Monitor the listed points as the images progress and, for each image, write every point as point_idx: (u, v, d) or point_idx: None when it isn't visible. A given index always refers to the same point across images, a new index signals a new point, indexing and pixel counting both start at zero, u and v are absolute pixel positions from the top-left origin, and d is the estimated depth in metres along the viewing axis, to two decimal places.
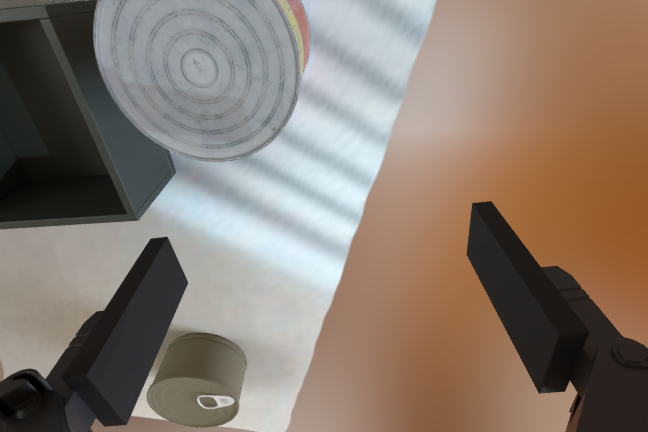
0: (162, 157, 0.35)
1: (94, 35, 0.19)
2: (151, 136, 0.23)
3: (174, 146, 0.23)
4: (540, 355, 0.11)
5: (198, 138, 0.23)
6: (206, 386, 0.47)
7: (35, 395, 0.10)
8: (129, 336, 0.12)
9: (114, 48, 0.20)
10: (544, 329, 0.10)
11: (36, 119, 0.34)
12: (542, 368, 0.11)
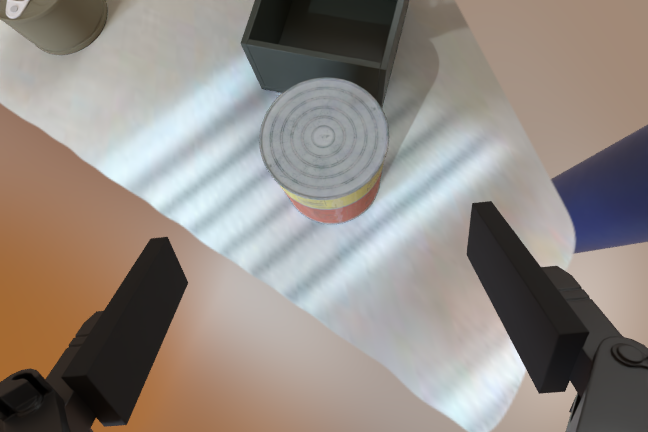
0: (277, 85, 0.45)
1: (361, 88, 0.32)
2: (295, 87, 0.33)
3: (284, 97, 0.33)
4: (540, 355, 0.11)
5: (283, 115, 0.32)
6: (43, 2, 0.44)
7: (35, 395, 0.10)
8: (129, 336, 0.12)
9: (351, 94, 0.32)
10: (544, 329, 0.10)
11: (333, 19, 0.47)
12: (542, 368, 0.11)
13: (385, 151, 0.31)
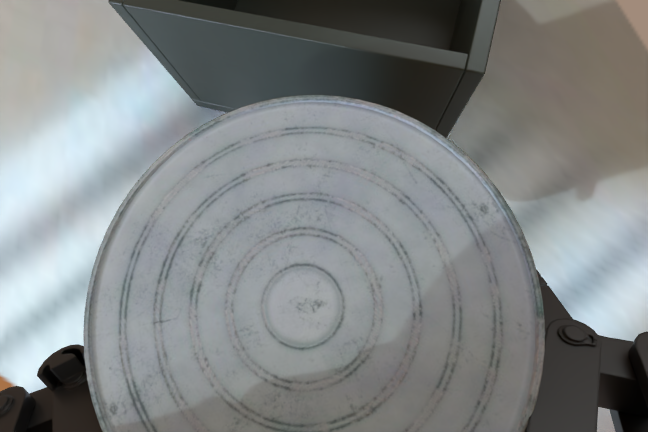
0: (222, 100, 0.22)
1: (434, 133, 0.09)
2: (217, 124, 0.10)
3: (177, 159, 0.10)
4: None
5: (171, 220, 0.10)
6: None
7: (81, 370, 0.10)
8: None
9: (399, 155, 0.10)
10: None
11: None
12: None
13: (534, 380, 0.08)
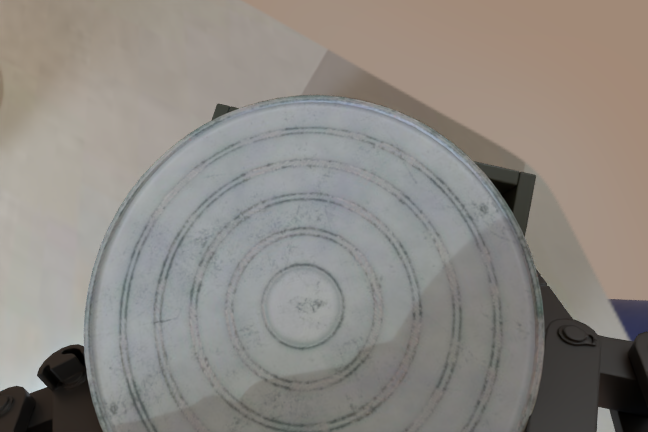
0: None
1: (434, 133, 0.09)
2: (217, 124, 0.10)
3: (178, 160, 0.10)
4: None
5: (171, 220, 0.10)
6: None
7: (81, 370, 0.10)
8: None
9: (399, 155, 0.10)
10: None
11: None
12: None
13: (534, 380, 0.08)
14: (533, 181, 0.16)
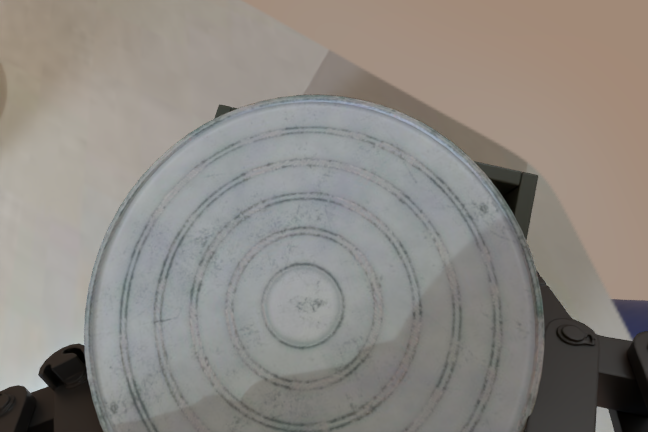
0: None
1: (434, 132, 0.09)
2: (217, 124, 0.10)
3: (178, 159, 0.10)
4: None
5: (171, 219, 0.10)
6: None
7: (82, 369, 0.10)
8: None
9: (399, 155, 0.10)
10: None
11: None
12: None
13: (534, 380, 0.08)
14: (535, 181, 0.16)
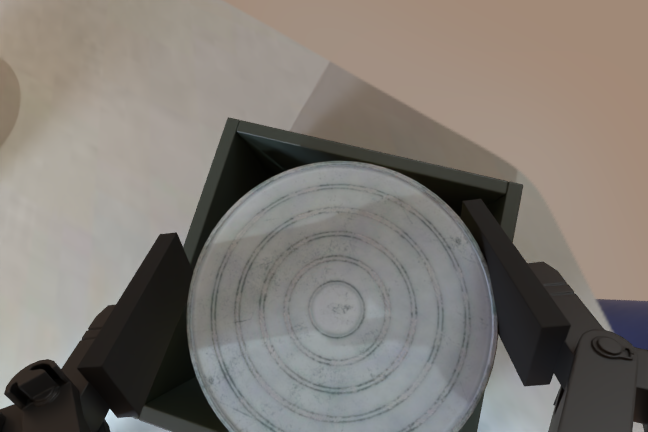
0: None
1: (423, 188, 0.14)
2: (271, 182, 0.14)
3: (245, 208, 0.14)
4: (525, 348, 0.11)
5: (242, 251, 0.14)
6: None
7: (52, 385, 0.10)
8: (141, 329, 0.13)
9: (400, 204, 0.14)
10: (528, 323, 0.10)
11: None
12: (526, 361, 0.11)
13: (491, 355, 0.12)
14: (520, 190, 0.18)
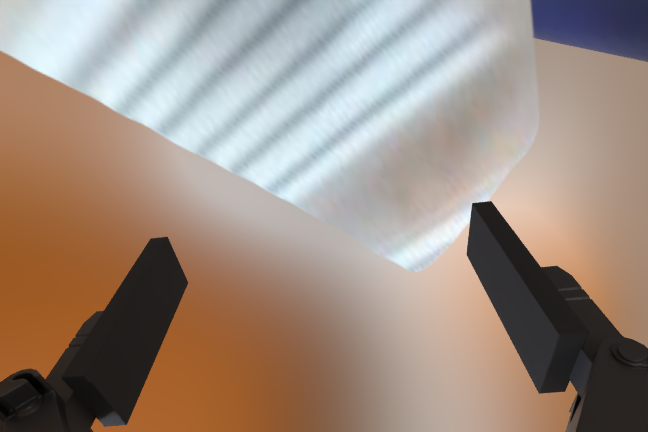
0: None
1: None
2: None
3: None
4: (540, 355, 0.11)
5: None
6: None
7: (35, 395, 0.10)
8: (129, 336, 0.12)
9: None
10: (544, 329, 0.10)
11: None
12: (542, 368, 0.11)
13: None
14: None
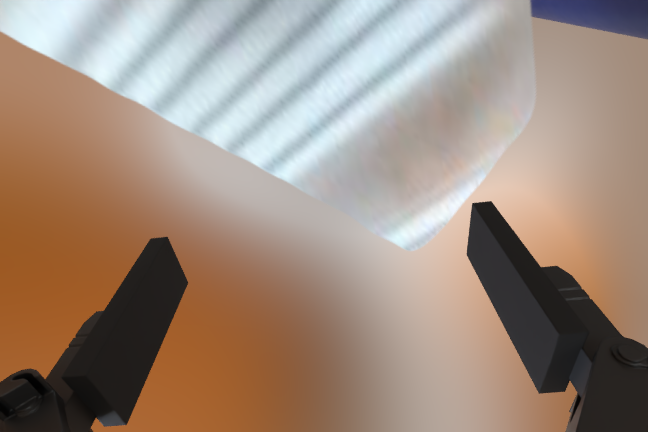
0: None
1: None
2: None
3: None
4: (540, 355, 0.11)
5: None
6: None
7: (35, 395, 0.10)
8: (129, 336, 0.12)
9: None
10: (544, 329, 0.10)
11: None
12: (542, 368, 0.11)
13: None
14: None
